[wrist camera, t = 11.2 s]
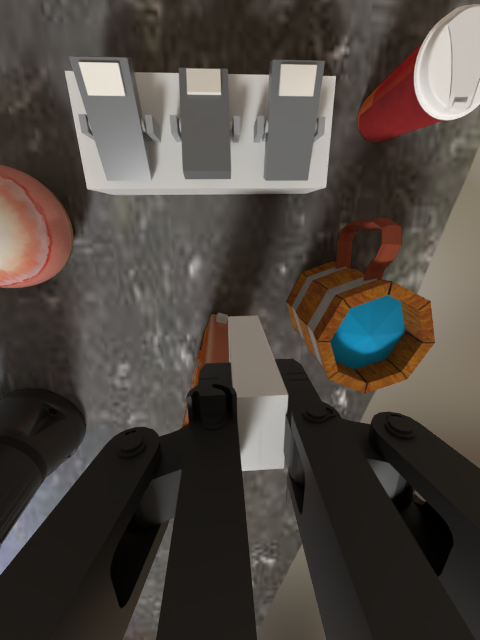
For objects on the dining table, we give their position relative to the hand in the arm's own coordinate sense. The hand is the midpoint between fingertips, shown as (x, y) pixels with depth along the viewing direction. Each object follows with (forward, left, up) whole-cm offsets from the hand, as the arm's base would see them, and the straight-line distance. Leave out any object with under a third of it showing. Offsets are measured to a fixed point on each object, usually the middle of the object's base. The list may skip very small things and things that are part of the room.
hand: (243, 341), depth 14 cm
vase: (-26, +5, -29) cm, 39 cm away
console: (-2, +14, -28) cm, 32 cm away
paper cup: (+20, +18, -29) cm, 39 cm away
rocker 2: (-2, +14, -18) cm, 23 cm away
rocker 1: (-10, +14, -18) cm, 25 cm away
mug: (+16, -4, -29) cm, 33 cm away
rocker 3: (+6, +14, -18) cm, 23 cm away
